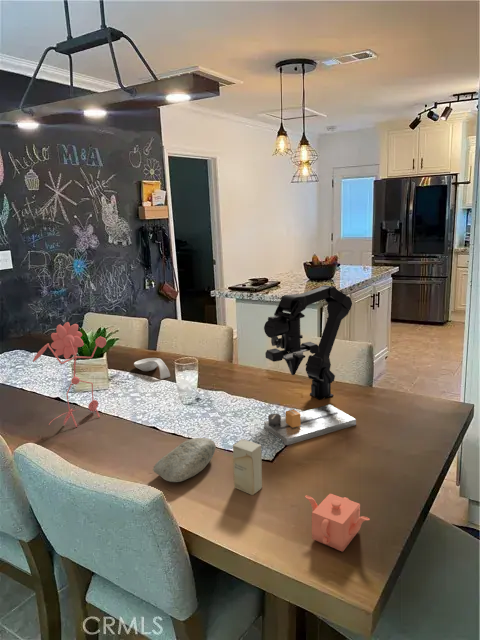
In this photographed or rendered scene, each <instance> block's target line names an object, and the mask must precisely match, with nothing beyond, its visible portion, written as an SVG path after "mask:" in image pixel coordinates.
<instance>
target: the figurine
mask: <svg viewBox="0 0 480 640" xmlns="http://www.w3.org/2000/svg"><path fill="white" fill-rule="evenodd" d="M55 331H56V332H52V333H51V334H50V337H51V340H52V341H53V342H51V343H46V344H45V345H44V346H42V347H41V349H39V351H37V353H36V354H35V356H34V358H33V360H32V362H35V361H37V360H38V359H39V358H41V356H42V355H43V354H44V353H45V351H46V350H47V349H48V348H49V350H50V352H51V353H52V354H53V355H54V357H55V358H56V360H57V361H58V362H59V364H60V365H64V364H65V363H67V362H70V361H72V360H73V362H74V363H73V377H72V378H71V380H70V381H71V383H70V385H69V387H68V390H67V392H66V394H65V395H66V401H67V407H68V412H63V413H62V414H61V415H59V416H57V417H55V418H54V419H51V420H50V422H49V424H51V423H52V422H54V420H56V419H57V418H59V417H61V416H62V415H65V414H66V415H65V418H64V419H63V425H64V426H65V425H66V423H67V421H68V420H69V419H70V417H71V419H72V421H73V424H74V425H75V428H77V427H78V425H77V422H76V420H75V416H74V414H73V412H74V411H79V410H80V408H78V409H74V408H71V409H70V403H69V396H68V393H69V392H70V390H71V387H72V385H78V384H79V383H80V382H82V383H87V384H91V398H92V399H91V401H90V402H89V403H88V405H87V406H88V408H87V409H88V410H89V411H90V412H95V414H97V416H98V417H97V418H100V417H101V416H100V414H99V411H98V409H97V408H98V407H99V401H98V400H96V399H94V384H93V382H91V381H85V380H81V379H80V378H79V377H78V376H76V365H77V364H76V362H77V359H93V357H94V355H95V353H96V350H97V348H101V349H102V348H104V347H105V346H106V345H107V339H106V338H105V337H103V336H101V335H100V336H98V337H97V338H96V339H95V343H94V344H95V347H94V349H93V351H92V353H91V356H81V355H80V356H78V348H81V347H83V346H84V344H85V343H84V341H83V339H82V338H81V337H82V336H83V333H82V332H81V331H79V324H77V323H74V324H72V325H70V322H69V321H67V322H65V323H64V324H63V325H62V324H58V325H57V326H56V330H55ZM54 350H55V351H54ZM59 356H63V357H64V359H65V360H64V361H61V359H60V358H59ZM72 356H73V357H72ZM70 357H71V358H70ZM73 409H74V410H73ZM112 411H113V412H115V410H114V409H112Z"/></svg>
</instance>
